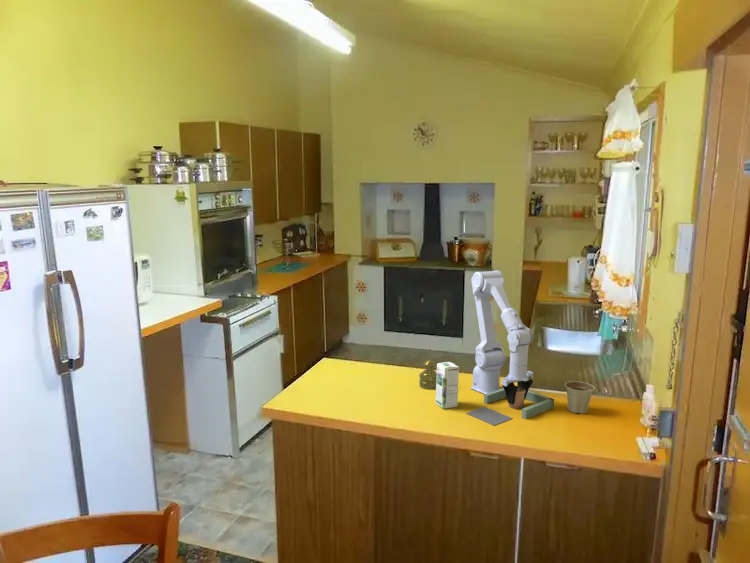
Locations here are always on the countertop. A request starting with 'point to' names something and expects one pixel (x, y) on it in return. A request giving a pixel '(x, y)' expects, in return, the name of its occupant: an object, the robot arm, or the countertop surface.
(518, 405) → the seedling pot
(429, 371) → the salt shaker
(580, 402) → the flower pot
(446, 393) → the syrup box
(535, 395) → the green u-shaped frame
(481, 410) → the rubber mat
